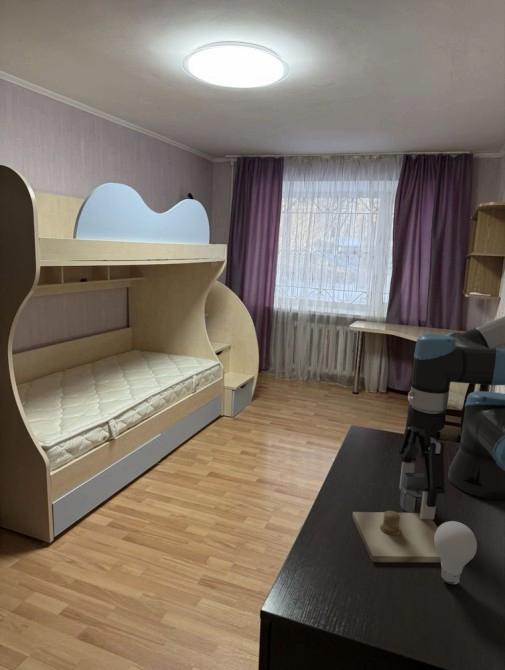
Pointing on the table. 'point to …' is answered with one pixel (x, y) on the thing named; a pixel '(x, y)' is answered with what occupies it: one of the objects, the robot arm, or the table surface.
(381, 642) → the table surface
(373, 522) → the socket base
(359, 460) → the table surface
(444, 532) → the light bulb
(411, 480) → the dark grey rounded piece
